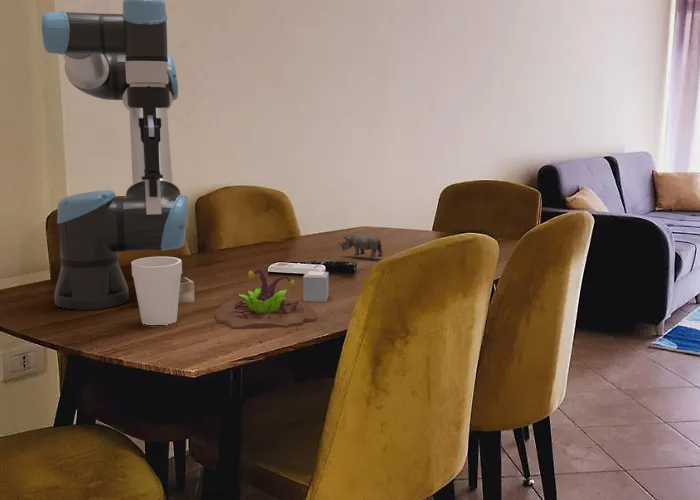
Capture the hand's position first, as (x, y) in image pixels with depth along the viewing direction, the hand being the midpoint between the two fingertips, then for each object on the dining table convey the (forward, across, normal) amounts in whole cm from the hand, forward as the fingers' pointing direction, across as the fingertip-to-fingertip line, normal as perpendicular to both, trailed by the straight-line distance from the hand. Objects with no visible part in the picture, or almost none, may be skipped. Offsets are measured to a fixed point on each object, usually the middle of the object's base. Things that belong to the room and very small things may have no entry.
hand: (154, 213), depth 144 cm
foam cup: (+23, 0, 0) cm, 23 cm away
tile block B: (+22, +11, -34) cm, 42 cm away
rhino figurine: (+22, +54, -58) cm, 82 cm away
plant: (+23, -1, -20) cm, 31 cm away
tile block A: (+22, +17, -5) cm, 28 cm away
